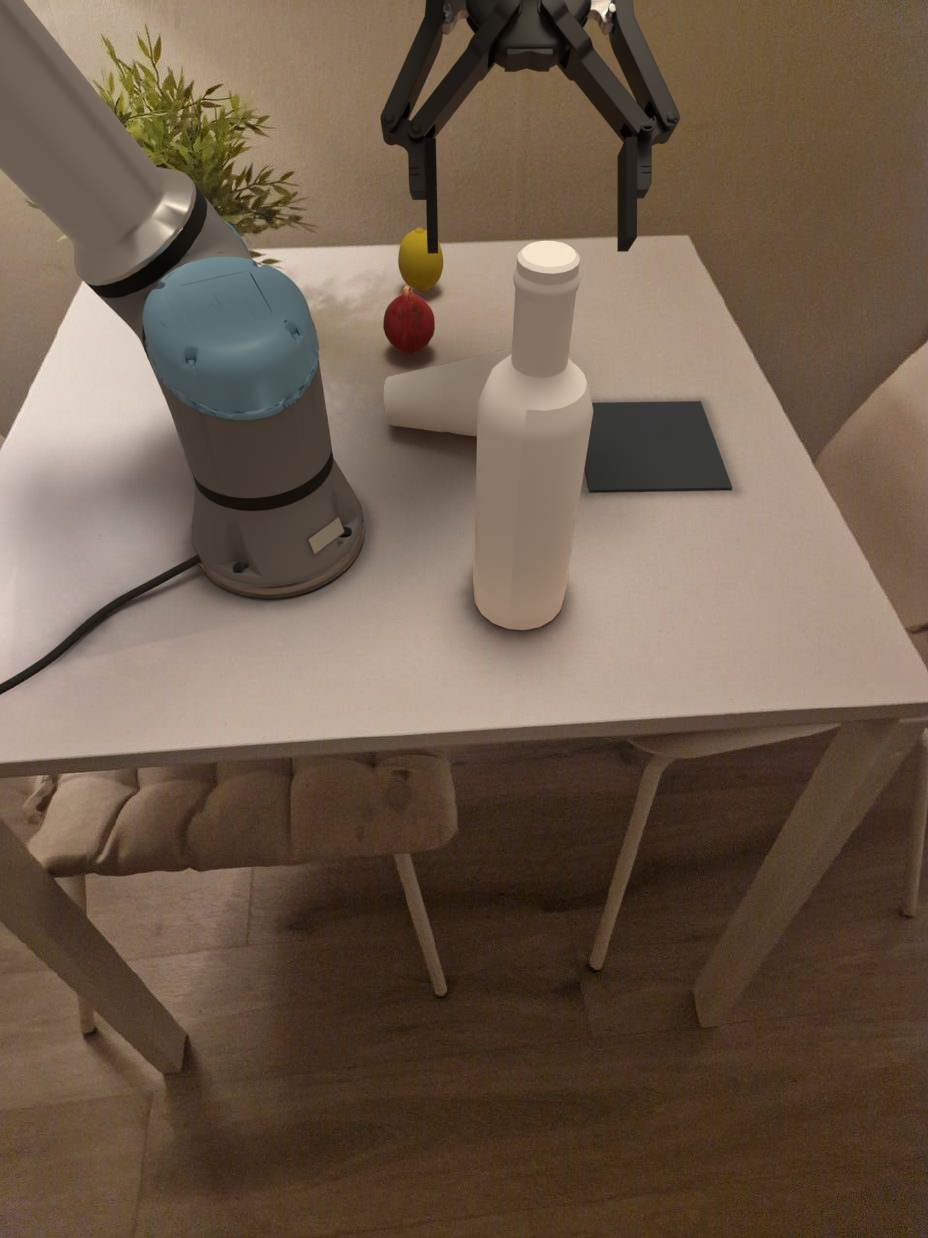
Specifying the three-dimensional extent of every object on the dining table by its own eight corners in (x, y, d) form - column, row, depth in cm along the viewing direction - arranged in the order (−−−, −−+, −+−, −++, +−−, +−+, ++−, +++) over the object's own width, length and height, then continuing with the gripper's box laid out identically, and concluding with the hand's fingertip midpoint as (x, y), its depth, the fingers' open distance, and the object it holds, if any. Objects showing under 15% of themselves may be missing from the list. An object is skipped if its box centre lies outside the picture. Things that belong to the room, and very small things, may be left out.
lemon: (395, 284, 102) (391, 220, 96) (436, 278, 103) (435, 214, 97) (406, 306, 98) (402, 241, 92) (449, 299, 100) (448, 235, 93)
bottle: (565, 566, 71) (617, 225, 48) (563, 635, 66) (621, 292, 43) (476, 559, 71) (484, 218, 48) (468, 628, 66) (473, 284, 43)
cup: (388, 323, 80) (568, 311, 76) (412, 407, 88) (574, 400, 84) (365, 392, 74) (559, 383, 70) (393, 476, 82) (567, 471, 78)
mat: (589, 492, 77) (589, 489, 77) (572, 404, 86) (572, 402, 86) (731, 489, 77) (732, 487, 77) (700, 403, 86) (701, 400, 86)
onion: (442, 361, 91) (441, 295, 85) (395, 372, 90) (390, 305, 83) (425, 335, 94) (423, 270, 88) (379, 345, 93) (373, 279, 87)
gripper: (332, -133, 49) (344, 226, 51) (731, -132, 50) (726, 222, 52) (347, -44, 57) (356, 265, 59) (693, -44, 57) (690, 262, 59)
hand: (530, 246), depth 55 cm, fingers open, 13 cm apart
